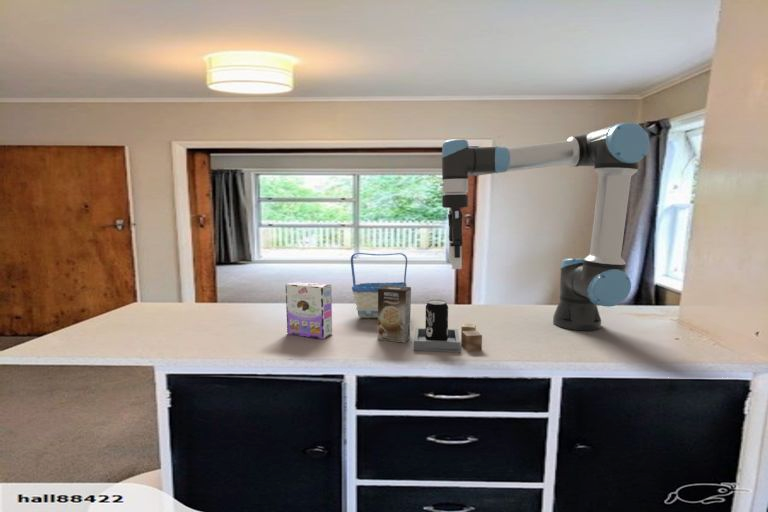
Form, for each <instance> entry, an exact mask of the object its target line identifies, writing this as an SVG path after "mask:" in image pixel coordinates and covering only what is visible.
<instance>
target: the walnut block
mask: <svg viewBox="0 0 768 512" xmlns="http://www.w3.org/2000/svg"><path fill="white" fill-rule="evenodd" d="M482 344H483V334H481V333H480V332H479V331H478V330H476V331H462V339H461V342H460V347H462V348H463V349H464V350H465V351H466V352H472V351H473V352H474V351H483V349H482V347H483V345H482Z"/></svg>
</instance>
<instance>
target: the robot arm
mask: <svg viewBox="0 0 768 512" xmlns="http://www.w3.org/2000/svg"><path fill="white" fill-rule="evenodd" d="M650 143H651V142H650V138H649V134H648V132H647V131H646V130H645V129H644V128H643V126H641V125H640V124H638V123H635V122H630V121H628V122H618V123H615V124H613V125H610V126H607V127H602V128H600V129H597V130H593V131H590V132H587V133H586V134H582V135H581V134H580V135H577V136H570V137H568V138H567V140H562V141H554V142H547V143H539V144H538V143H537V144H529V145H522V146H521V145H519V146H514V147H507V146H497V145H495V146H479V147H478V146H476V147H475V146H470V145H469V143H468V140H467V139H448V140H446V141H444V142H443V143H442V146H441V147H442V149H441V175H442V176H441V180H442V181H441V182H440V184H439V186H440V187H442V194H444V195H442V196H441V198H442V199H441V205H442V208H443V209H447V208H448V209H449V211H448V213H447V220H448V226H449V227H448V229H449V230H448V244H449V245H448V252H449V253H448V254H449V255H448V258H449V259H448V260H449V261H448V262H449V263H451V269H452V270H462V269H463V257H462V256H463V250H462V249H463V247H462V246H463V244H464V243H463V227H462V226H463V214H462V211H461V209H460V208H467V207H469V195H468V194H467V193H469V176H471V177H479V176H483V175H492V174H500V173H501V174H502V173H507V172H516V171H524V170H532V169H541V168H551V167H556V166H559V167H560V166H566V165H567V166H568V167H570V168H574V167H577V168H578V167H594V169H593V170H594V172H595V173H596V174H597V175H598V180H597V182H598V183H597V187H596V188H597V190H596V196H595V197H596V198H595V208H594V216H593V217H594V218H593V223H592V224H593V225H592V233H591V241H590V250H589V253H588V255H587V256H585V257H584V258H564V259H563V260H562V261H561V267H560V281H559V282H560V284H559V285H560V286H559V302H558V304H557V305H556V309H555V311H554V313H553V317H552V323H553V324H554V325H555V326H557V327H560V328H564V329H568V330H574V331H583V332H584V331H585V332H586V331H597V330H599V329H601V328H602V319H601V315H600V311H599V307H598V306H602V307H606V308H607V307H609V308H610V307H615V306H617V305H620V304H621V303H622V302H624V301H625V300H626V299H627V298H628V296H629V294H630V293H631V289H632V283H631V282H632V281H631V279H630V277H629V276H628V274H627V273H626V265H627V262H625V260H624V259H623V258H622V251H623V243H624V242H623V241H624V236H625V233H624V232H625V228H626V227H625V226H626V219H627V211H628V205H629V203H628V201H629V195H630V188H631V179H632V177H633V175H635V174H636V173H637V172H638V170H639V163H640V161H641V160H643V158H644V157H645V156H647V154H648V153H649V150H650V146H651V145H650Z"/></svg>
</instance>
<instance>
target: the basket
mask: <svg viewBox="0 0 768 512" xmlns="http://www.w3.org/2000/svg"><path fill="white" fill-rule="evenodd" d="M355 255H367V256H368V255H369V256H394V255H396V256H397V255H402V256H403V257H404V258H405V265H404V277H403V281H402V282H395V281H394V282H367V283H366V282H365V283H359V284H358V283H357V282H356V274H355V267H354V266H355V265H354V257H355ZM350 265H351V266H350V267H351V274H352V275H351V276H352V286H351V290H352V294H353V298H354V299H353V300H354V301H355V305H356V310H357V314H358V317H359V319H360V318H361V319H363V318H364V319H365V318H369V319H370V318H371V319H374V318H375V319H376V318H377V319H378V288H380V287H381V286H383V285H393V286H404V287H407V283H406V282H407V281H406V279H407V277H406V276H407V267H408V257H407V255H406V254H404V253H402V252H397V253H368V252H367V253H365V252H356V253H353V254H352V255H351V257H350ZM356 283H357V284H356Z"/></svg>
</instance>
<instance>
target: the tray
mask: <svg viewBox="0 0 768 512" xmlns="http://www.w3.org/2000/svg"><path fill="white" fill-rule="evenodd" d="M425 334H426V327H415V328H414V337H413V351H417V352H418V351H423V352H449V353H461V339H460V335H459V334H460V333H459V329H457V328H448V340H447V341H435V340H426V338H425Z"/></svg>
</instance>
